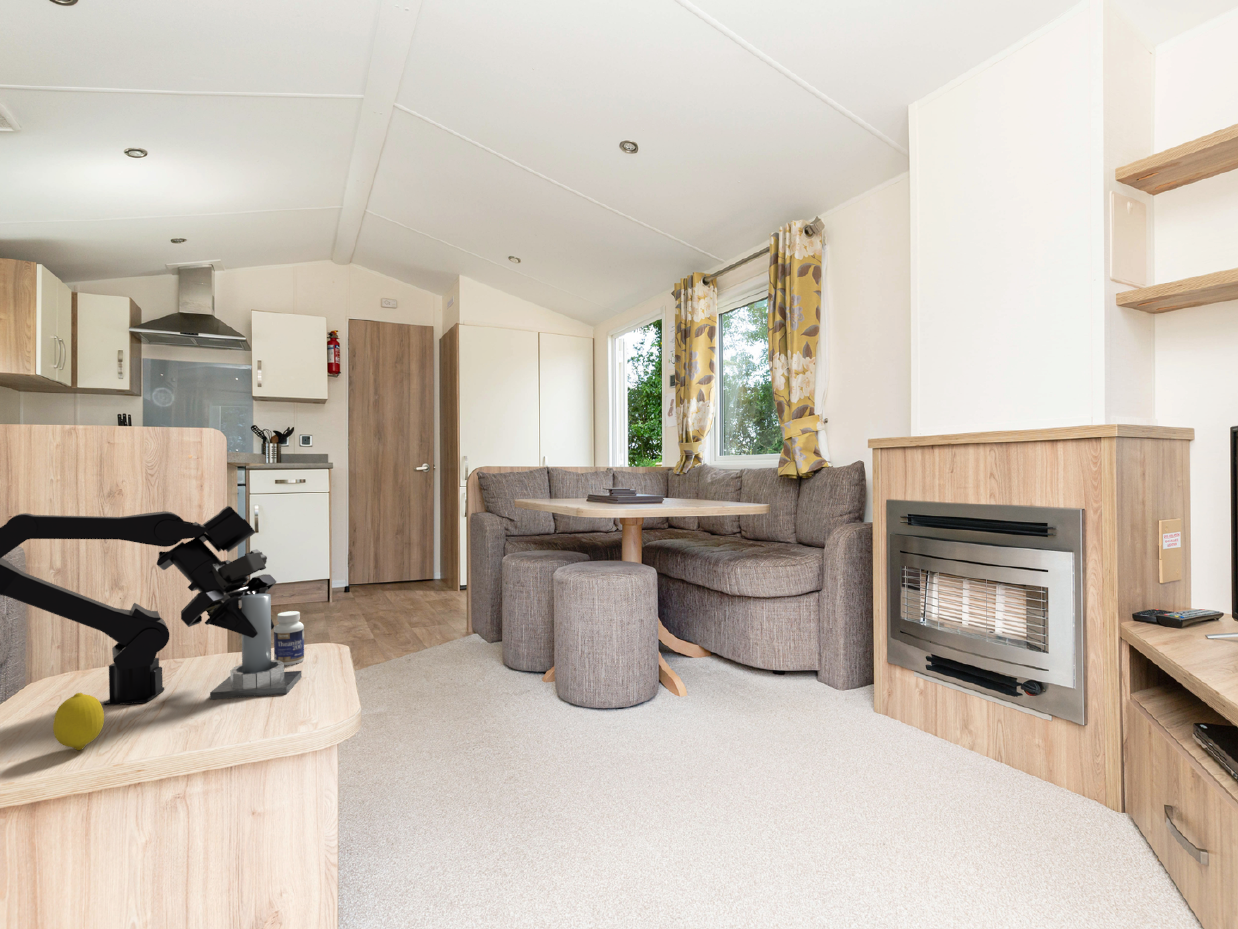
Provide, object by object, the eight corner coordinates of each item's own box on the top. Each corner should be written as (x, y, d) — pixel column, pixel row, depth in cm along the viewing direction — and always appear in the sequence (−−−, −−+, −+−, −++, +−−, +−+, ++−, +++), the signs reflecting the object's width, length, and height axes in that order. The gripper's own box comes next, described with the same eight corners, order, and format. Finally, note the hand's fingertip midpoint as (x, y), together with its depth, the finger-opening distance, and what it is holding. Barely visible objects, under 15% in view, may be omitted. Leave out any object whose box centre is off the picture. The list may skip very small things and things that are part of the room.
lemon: (77, 760, 90) (75, 701, 90) (43, 757, 91) (41, 699, 91) (114, 742, 96) (113, 687, 96) (82, 740, 97) (81, 685, 97)
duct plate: (210, 699, 112) (209, 677, 112) (230, 682, 121) (230, 661, 121) (286, 694, 115) (286, 672, 115) (301, 677, 124) (301, 657, 123)
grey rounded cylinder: (238, 674, 115) (237, 599, 115) (247, 666, 120) (247, 594, 120) (266, 672, 116) (265, 598, 116) (274, 665, 120) (274, 593, 120)
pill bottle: (275, 668, 129) (274, 617, 129) (273, 661, 134) (272, 612, 134) (305, 663, 132) (305, 614, 132) (303, 656, 137) (302, 609, 136)
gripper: (197, 544, 109) (262, 612, 108) (266, 531, 127) (322, 590, 127) (151, 591, 109) (216, 660, 109) (227, 572, 128) (282, 631, 127)
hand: (264, 632), depth 118 cm, fingers closed on grey rounded cylinder, 4 cm apart
